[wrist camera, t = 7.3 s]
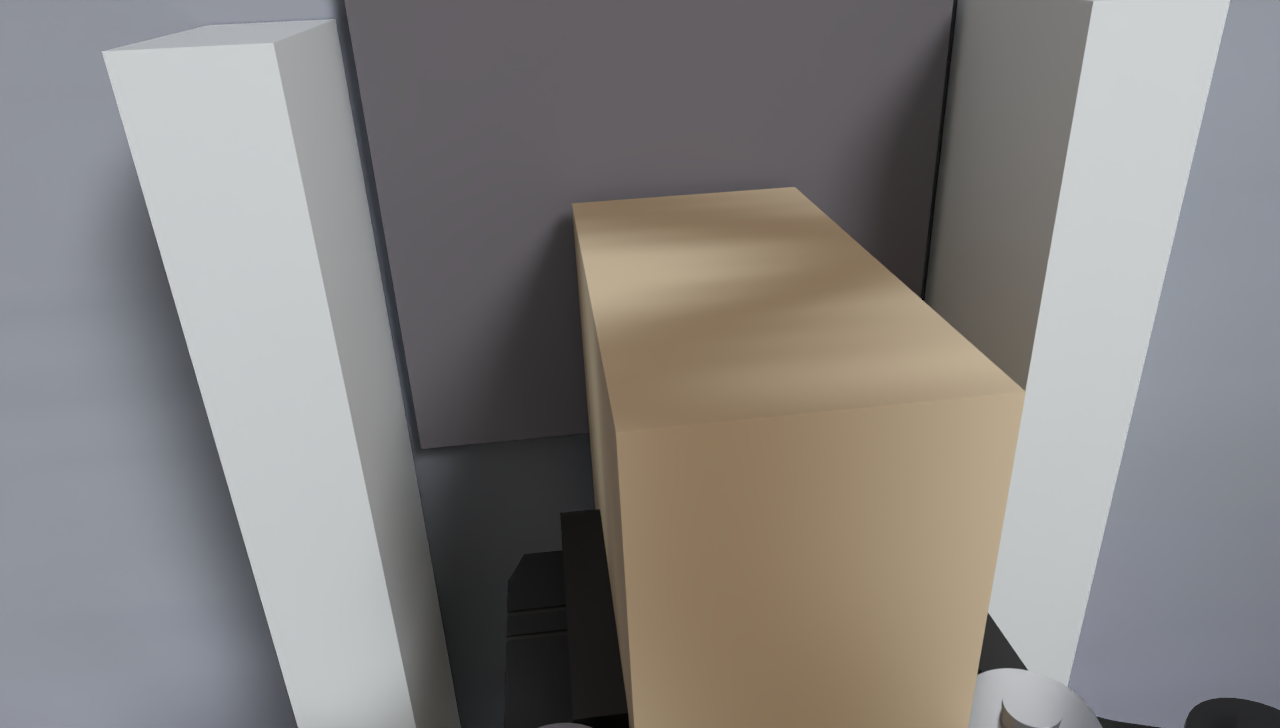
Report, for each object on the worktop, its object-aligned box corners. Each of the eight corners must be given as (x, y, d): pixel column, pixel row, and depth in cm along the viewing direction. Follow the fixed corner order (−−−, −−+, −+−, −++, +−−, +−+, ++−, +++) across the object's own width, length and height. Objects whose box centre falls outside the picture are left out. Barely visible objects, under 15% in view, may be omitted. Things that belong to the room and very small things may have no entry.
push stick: (794, 186, 12) (1024, 391, 6) (775, 721, 16) (902, 1110, 11) (572, 203, 11) (617, 431, 6) (613, 742, 16) (660, 1152, 10)
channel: (1147, -521, 9) (1398, -708, 7) (935, 802, 19) (1005, 947, 16) (76, -530, 8) (-134, -757, 6) (410, 876, 18) (390, 1044, 15)
